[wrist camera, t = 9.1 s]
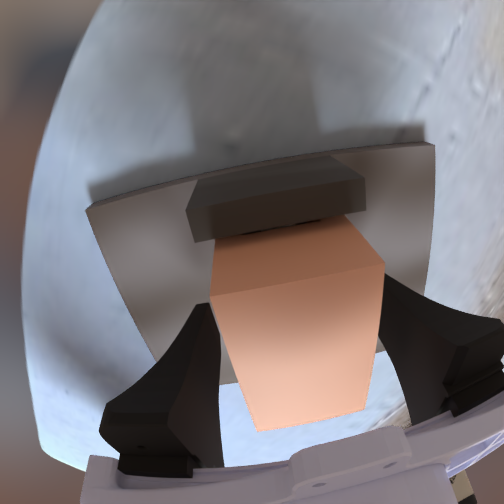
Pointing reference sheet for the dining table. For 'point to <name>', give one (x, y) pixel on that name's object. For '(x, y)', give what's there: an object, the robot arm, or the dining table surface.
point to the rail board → (260, 225)
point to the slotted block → (299, 318)
